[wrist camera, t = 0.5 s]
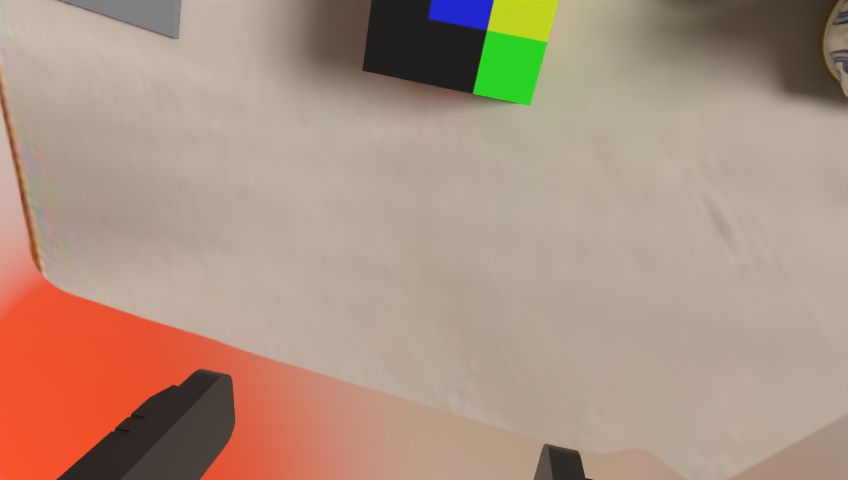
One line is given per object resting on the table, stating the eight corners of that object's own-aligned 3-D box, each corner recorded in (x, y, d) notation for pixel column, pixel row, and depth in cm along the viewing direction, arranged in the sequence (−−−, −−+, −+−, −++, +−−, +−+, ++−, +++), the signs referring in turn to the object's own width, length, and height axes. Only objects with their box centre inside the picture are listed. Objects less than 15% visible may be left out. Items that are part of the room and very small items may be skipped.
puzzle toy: (422, -66, 30) (390, -140, 21) (558, -42, 29) (588, -108, 20) (399, 78, 34) (362, 70, 24) (520, 103, 33) (530, 105, 23)
